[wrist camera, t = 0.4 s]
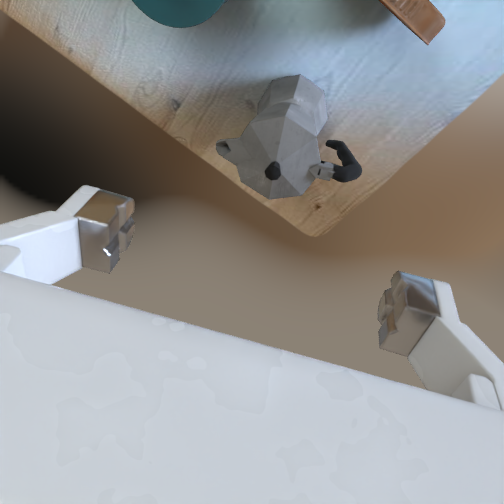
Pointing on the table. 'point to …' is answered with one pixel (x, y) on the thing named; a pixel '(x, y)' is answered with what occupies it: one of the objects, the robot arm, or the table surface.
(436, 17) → the tin
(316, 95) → the coffeepot
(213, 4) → the can lid
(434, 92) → the table surface
